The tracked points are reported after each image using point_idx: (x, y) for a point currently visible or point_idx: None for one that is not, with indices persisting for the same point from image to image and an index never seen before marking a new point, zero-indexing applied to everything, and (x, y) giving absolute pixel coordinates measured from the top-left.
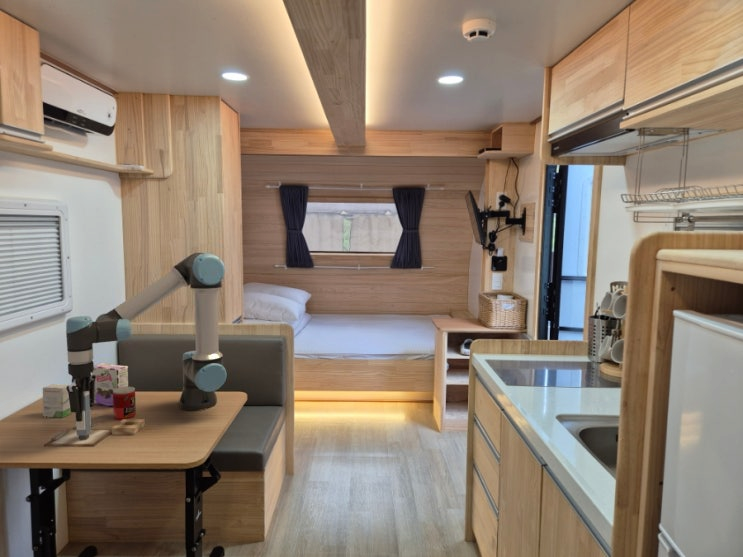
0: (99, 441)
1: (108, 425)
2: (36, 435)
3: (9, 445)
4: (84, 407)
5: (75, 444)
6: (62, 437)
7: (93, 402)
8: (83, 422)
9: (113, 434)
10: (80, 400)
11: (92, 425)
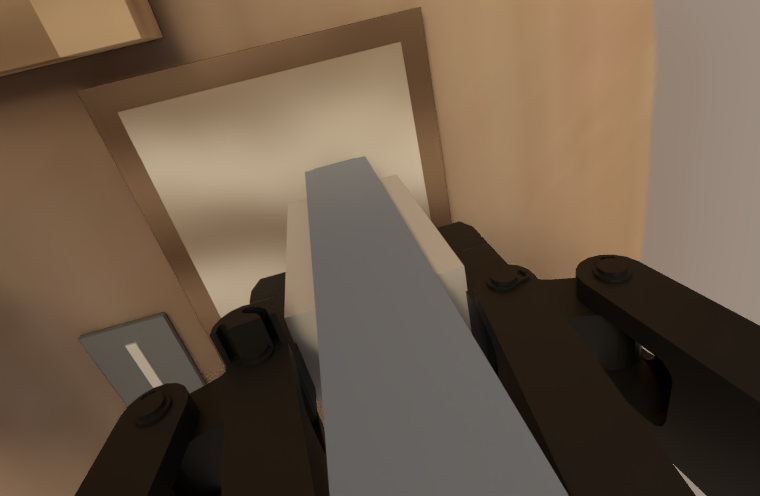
0: (336, 27)
1: (31, 233)
2: None
3: None
4: (451, 313)
5: (434, 171)
6: None
7: (158, 392)
8: (419, 207)
9: (156, 21)
10: (642, 445)
11: (117, 331)
